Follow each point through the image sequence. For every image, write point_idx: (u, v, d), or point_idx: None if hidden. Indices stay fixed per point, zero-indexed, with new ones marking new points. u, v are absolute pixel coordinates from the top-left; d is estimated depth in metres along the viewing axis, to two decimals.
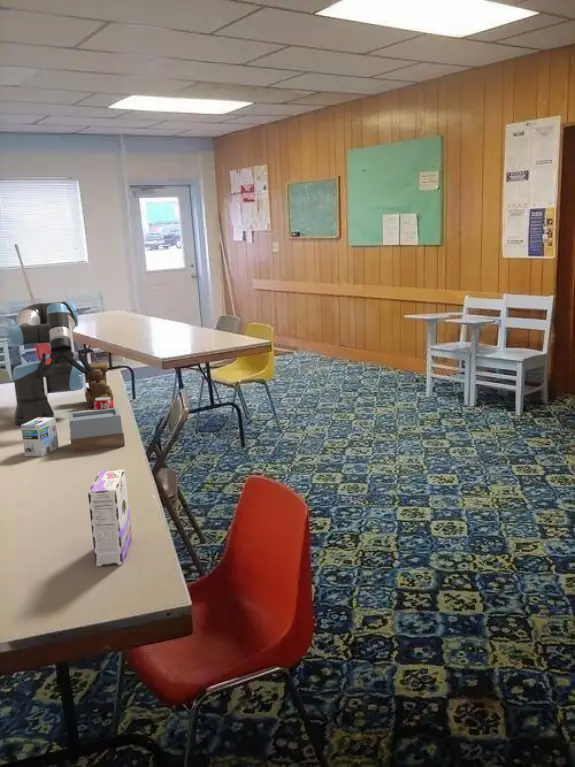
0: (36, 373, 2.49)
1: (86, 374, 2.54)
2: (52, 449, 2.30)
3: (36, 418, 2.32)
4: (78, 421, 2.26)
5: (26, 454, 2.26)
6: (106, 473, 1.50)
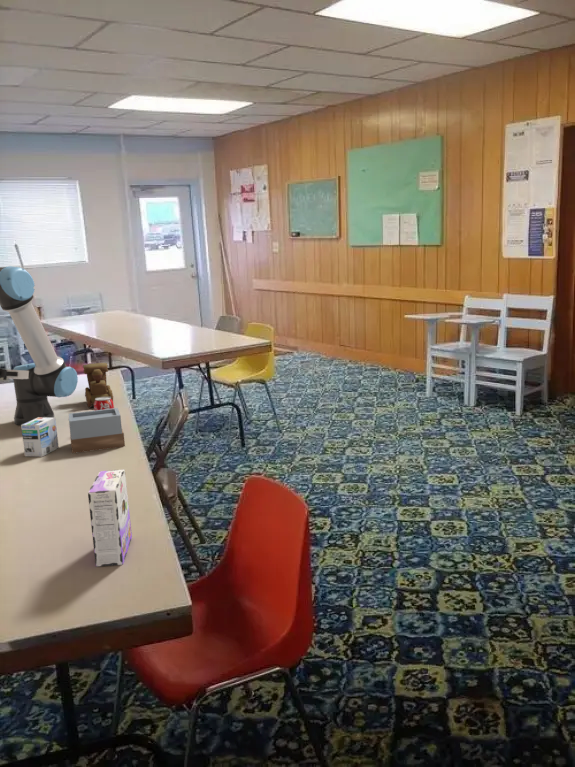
0: None
1: (8, 375, 2.19)
2: (52, 449, 2.30)
3: (36, 418, 2.32)
4: (78, 421, 2.26)
5: (26, 454, 2.26)
6: (106, 473, 1.50)
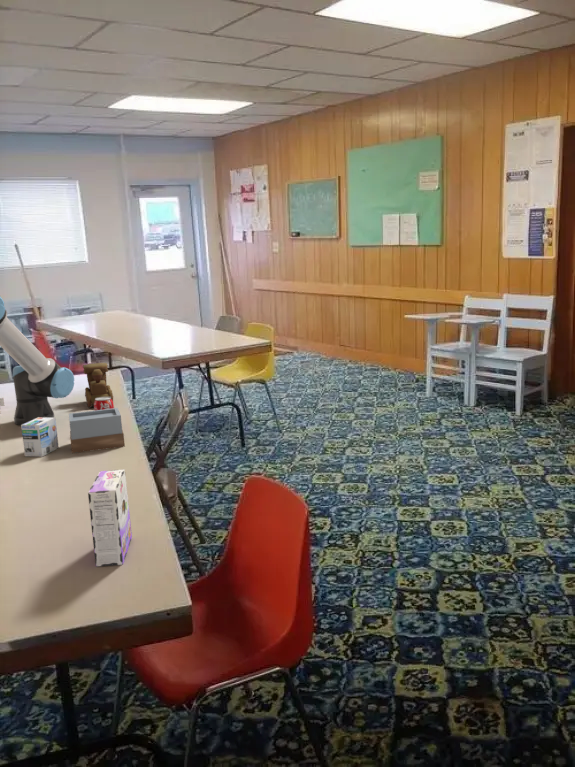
0: None
1: None
2: (52, 449, 2.30)
3: (36, 418, 2.32)
4: (78, 421, 2.26)
5: (26, 454, 2.26)
6: (106, 473, 1.50)
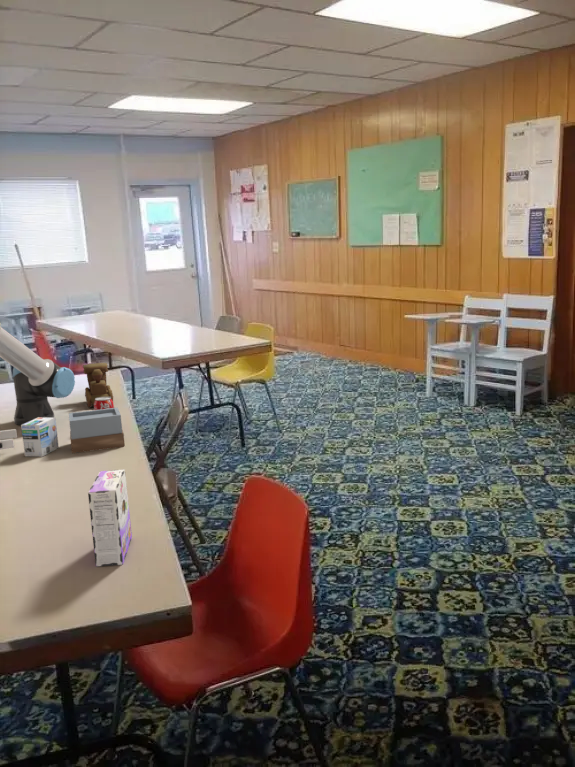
0: None
1: None
2: (52, 449, 2.30)
3: (36, 418, 2.32)
4: (78, 421, 2.26)
5: (26, 454, 2.26)
6: (106, 473, 1.50)
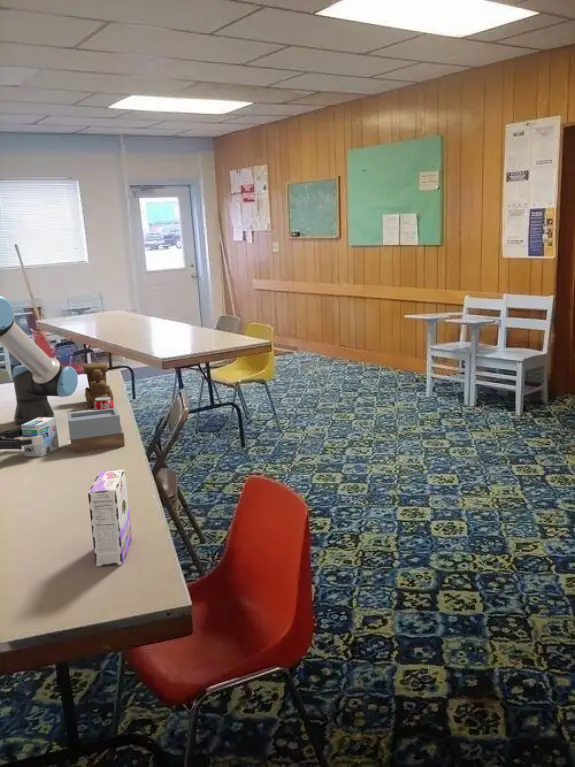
0: None
1: None
2: (52, 449, 2.30)
3: (36, 418, 2.32)
4: (77, 421, 2.26)
5: (26, 454, 2.26)
6: (106, 473, 1.50)
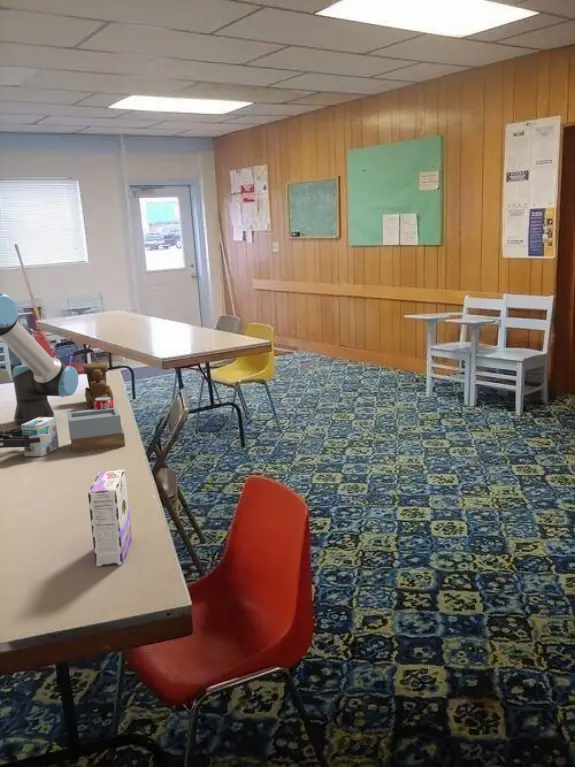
0: None
1: None
2: (52, 449, 2.30)
3: (36, 418, 2.32)
4: (78, 421, 2.26)
5: (26, 454, 2.26)
6: (106, 473, 1.50)
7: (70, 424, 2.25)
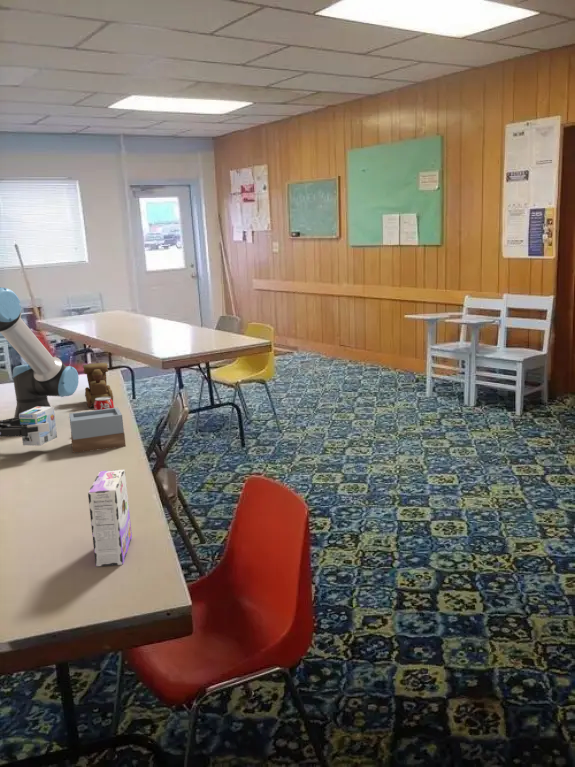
0: None
1: None
2: (50, 438, 2.29)
3: (34, 407, 2.31)
4: (80, 421, 2.26)
5: (24, 443, 2.25)
6: (106, 473, 1.50)
7: (72, 424, 2.25)
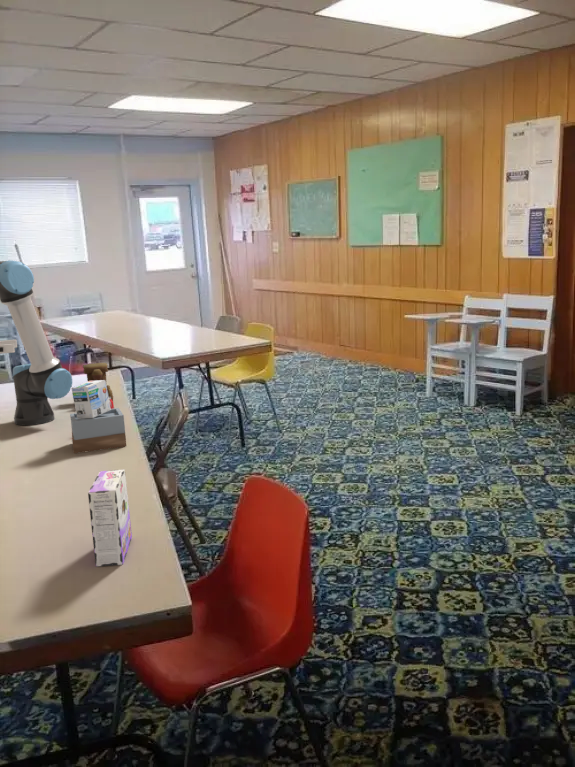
0: None
1: None
2: (103, 411, 2.33)
3: None
4: (81, 421, 2.26)
5: (78, 416, 2.29)
6: (106, 473, 1.50)
7: (74, 424, 2.25)
